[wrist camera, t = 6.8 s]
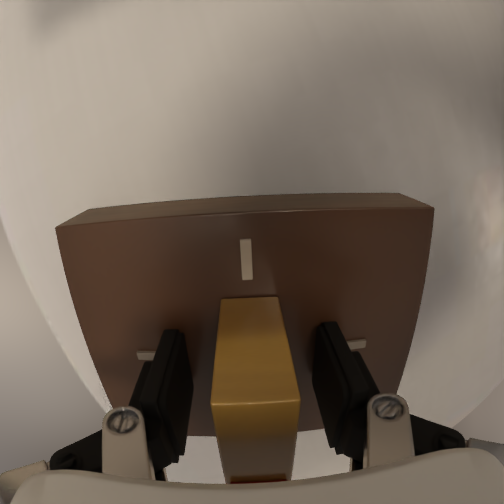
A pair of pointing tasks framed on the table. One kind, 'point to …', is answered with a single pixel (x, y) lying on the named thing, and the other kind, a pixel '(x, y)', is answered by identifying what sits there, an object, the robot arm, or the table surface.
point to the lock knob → (254, 392)
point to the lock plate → (248, 281)
